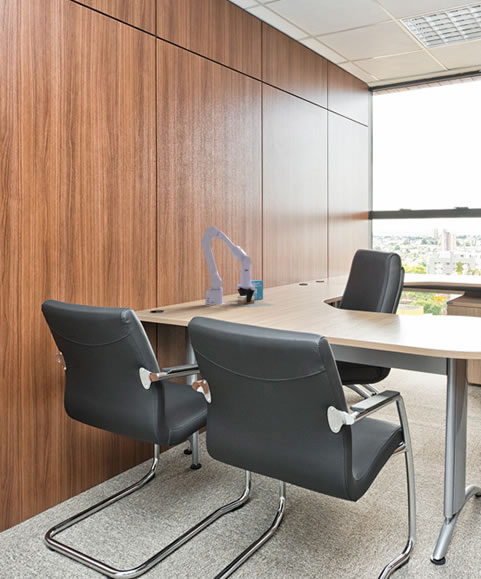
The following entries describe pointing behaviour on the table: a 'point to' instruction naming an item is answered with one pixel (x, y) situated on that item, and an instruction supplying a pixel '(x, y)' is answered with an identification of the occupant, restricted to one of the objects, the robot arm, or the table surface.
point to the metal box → (245, 300)
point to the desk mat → (254, 304)
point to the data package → (257, 289)
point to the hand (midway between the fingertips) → (246, 301)
